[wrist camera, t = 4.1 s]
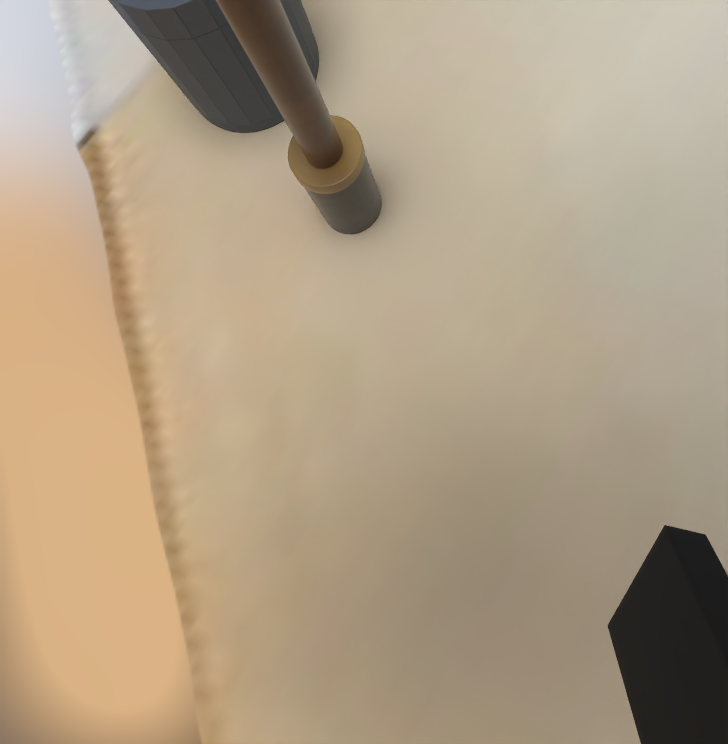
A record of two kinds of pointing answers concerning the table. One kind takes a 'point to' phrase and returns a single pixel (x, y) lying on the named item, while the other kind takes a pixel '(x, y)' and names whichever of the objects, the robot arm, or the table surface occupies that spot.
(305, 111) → the brush
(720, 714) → the robot arm
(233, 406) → the table surface
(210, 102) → the grey cylindrical holder
